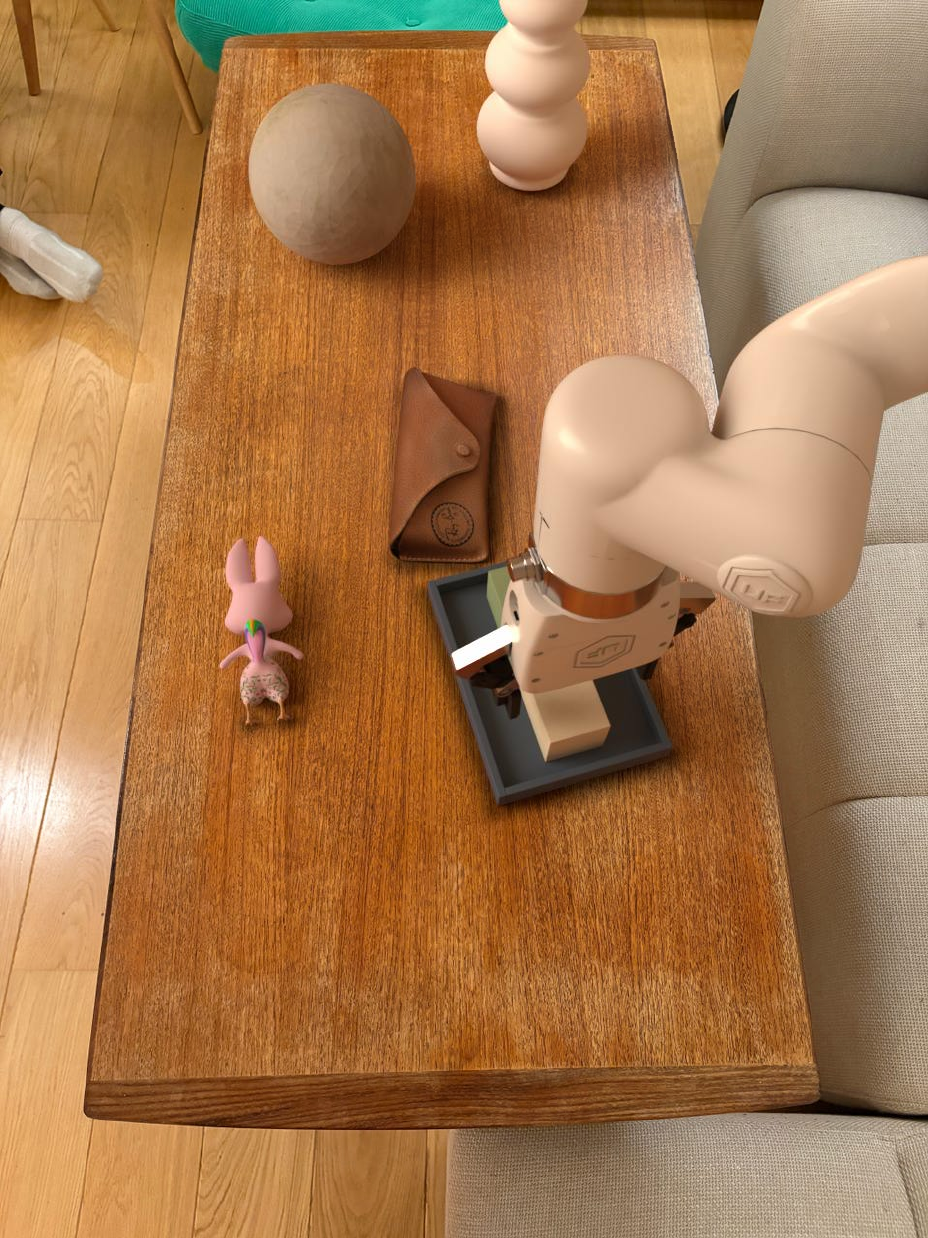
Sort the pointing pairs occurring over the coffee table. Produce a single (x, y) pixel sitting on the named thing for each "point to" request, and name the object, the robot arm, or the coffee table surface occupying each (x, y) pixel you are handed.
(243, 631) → the rabbit figure
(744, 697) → the coffee table surface
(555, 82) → the vase
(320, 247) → the decorative sphere
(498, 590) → the sage pad
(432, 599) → the tray
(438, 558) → the sunglasses case
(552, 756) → the cream pad
